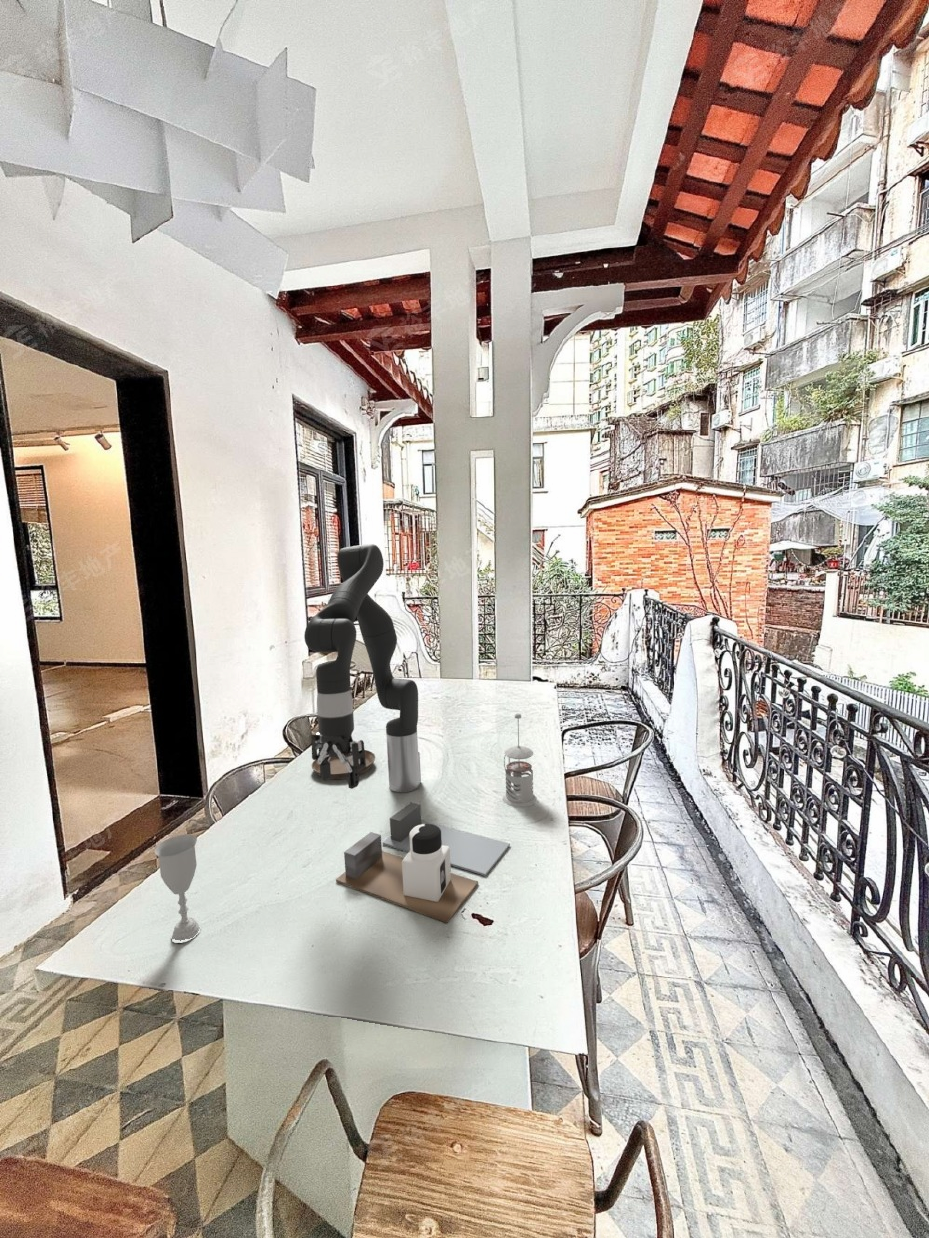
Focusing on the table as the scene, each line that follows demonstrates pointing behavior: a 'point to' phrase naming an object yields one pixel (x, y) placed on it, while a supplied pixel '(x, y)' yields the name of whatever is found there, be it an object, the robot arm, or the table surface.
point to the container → (426, 864)
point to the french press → (519, 776)
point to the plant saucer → (343, 766)
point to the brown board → (397, 880)
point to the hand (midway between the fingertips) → (339, 783)
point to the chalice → (179, 877)
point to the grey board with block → (448, 841)
